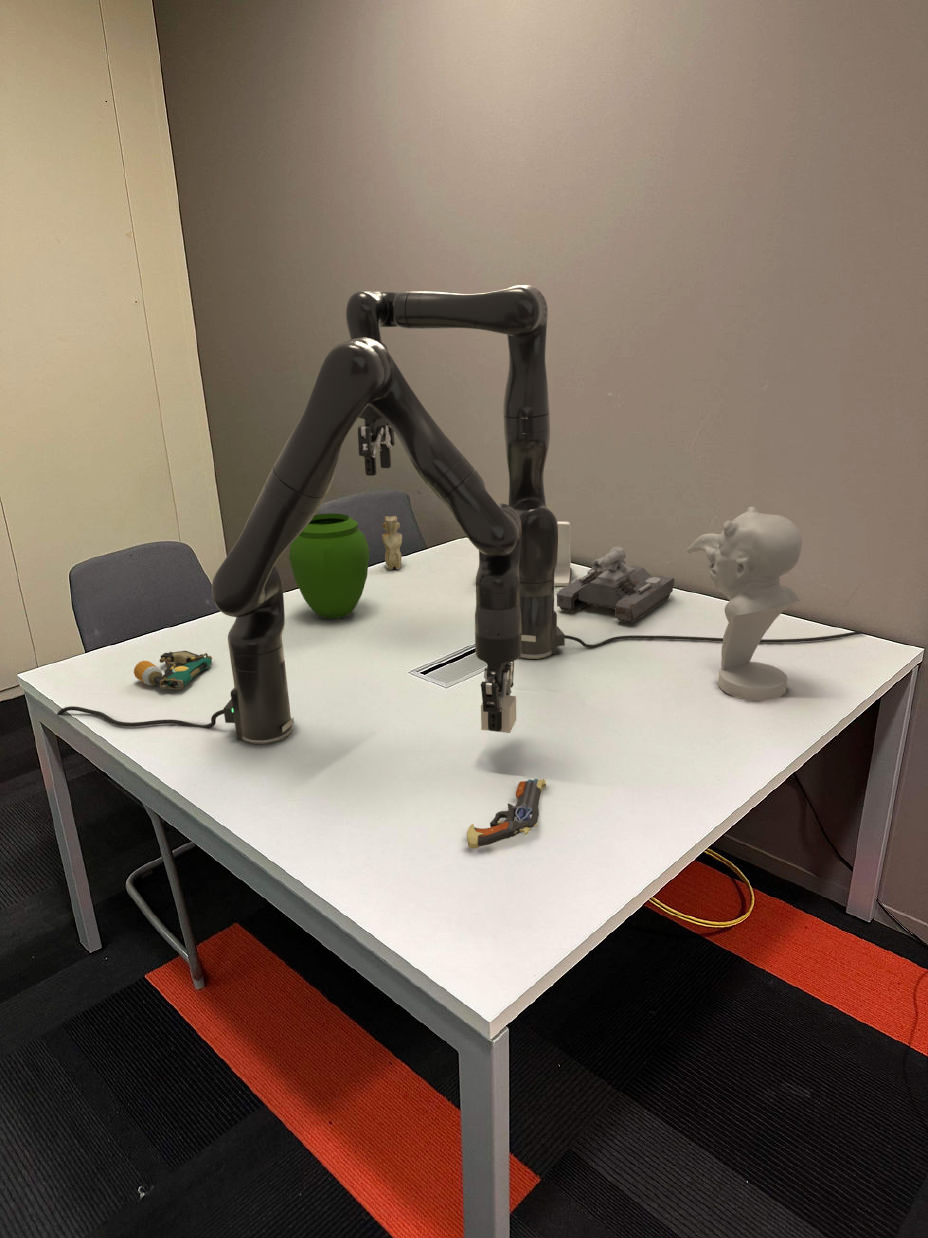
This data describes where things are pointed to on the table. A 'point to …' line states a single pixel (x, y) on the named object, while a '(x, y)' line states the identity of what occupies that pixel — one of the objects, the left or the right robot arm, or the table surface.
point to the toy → (616, 588)
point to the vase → (330, 564)
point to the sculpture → (392, 542)
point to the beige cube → (507, 715)
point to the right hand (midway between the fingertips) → (378, 471)
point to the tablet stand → (563, 555)
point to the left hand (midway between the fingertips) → (498, 722)
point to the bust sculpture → (751, 595)
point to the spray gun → (172, 669)
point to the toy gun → (511, 816)
